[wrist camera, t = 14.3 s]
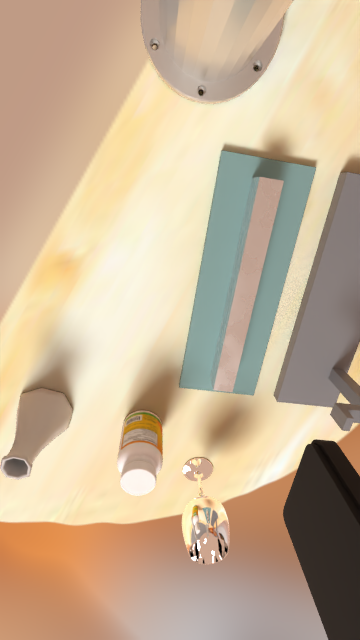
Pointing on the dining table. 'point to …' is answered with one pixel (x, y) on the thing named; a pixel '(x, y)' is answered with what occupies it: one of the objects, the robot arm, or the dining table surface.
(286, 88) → the dining table surface
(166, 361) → the dining table surface
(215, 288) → the teal mat
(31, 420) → the flask
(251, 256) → the steel rail
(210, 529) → the wineglass
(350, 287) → the rail stand
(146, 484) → the supplement bottle
